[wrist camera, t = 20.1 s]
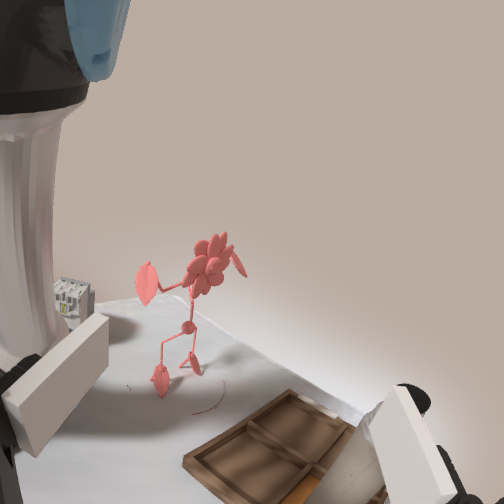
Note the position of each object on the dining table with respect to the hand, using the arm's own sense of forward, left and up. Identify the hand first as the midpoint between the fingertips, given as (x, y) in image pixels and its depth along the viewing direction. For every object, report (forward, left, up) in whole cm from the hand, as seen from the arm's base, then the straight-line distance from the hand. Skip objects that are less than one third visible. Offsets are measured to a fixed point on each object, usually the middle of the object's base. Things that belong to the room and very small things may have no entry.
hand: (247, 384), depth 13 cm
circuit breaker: (-58, +15, -38) cm, 71 cm away
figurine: (-30, +29, -38) cm, 57 cm away
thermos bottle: (+8, +23, -37) cm, 44 cm away
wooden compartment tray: (0, +30, -38) cm, 49 cm away
